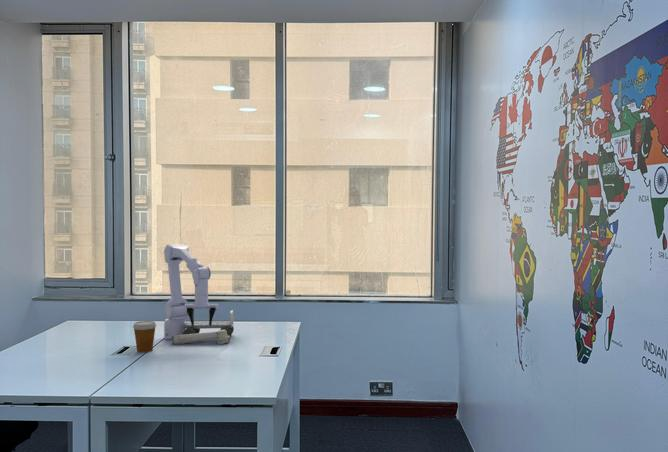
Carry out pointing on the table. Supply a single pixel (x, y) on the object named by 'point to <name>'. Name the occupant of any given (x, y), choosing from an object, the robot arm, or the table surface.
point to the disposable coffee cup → (144, 335)
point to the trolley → (209, 326)
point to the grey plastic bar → (202, 337)
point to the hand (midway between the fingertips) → (201, 325)
